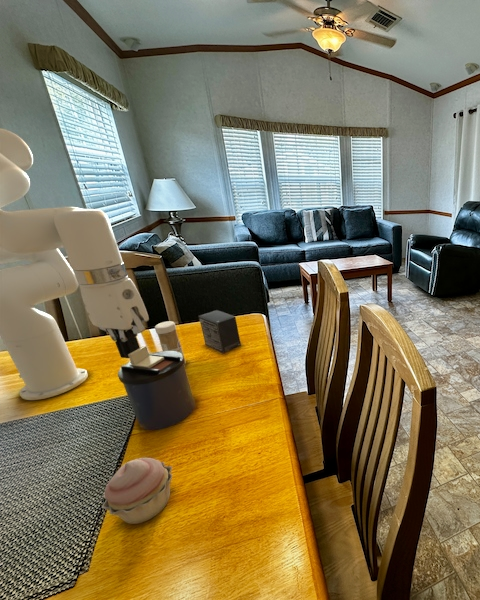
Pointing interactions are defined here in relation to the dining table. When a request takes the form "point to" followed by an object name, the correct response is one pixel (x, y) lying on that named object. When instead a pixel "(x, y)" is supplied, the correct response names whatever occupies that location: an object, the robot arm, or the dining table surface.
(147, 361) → the slider
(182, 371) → the dark blue canister
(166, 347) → the sprinkles bottle
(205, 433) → the dining table surface
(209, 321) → the small box
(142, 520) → the cupcake
